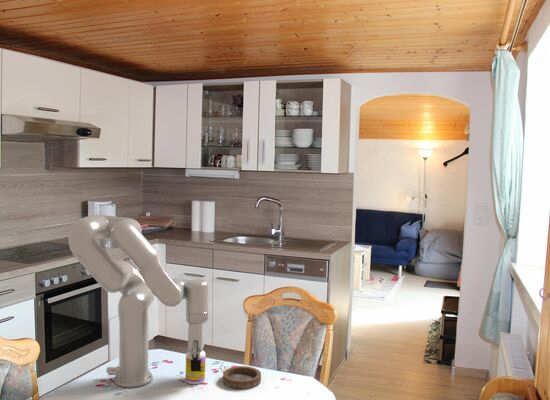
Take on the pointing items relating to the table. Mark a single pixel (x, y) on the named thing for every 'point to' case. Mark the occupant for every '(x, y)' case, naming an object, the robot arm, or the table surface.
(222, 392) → the table surface
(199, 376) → the supplement bottle
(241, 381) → the ring holder
